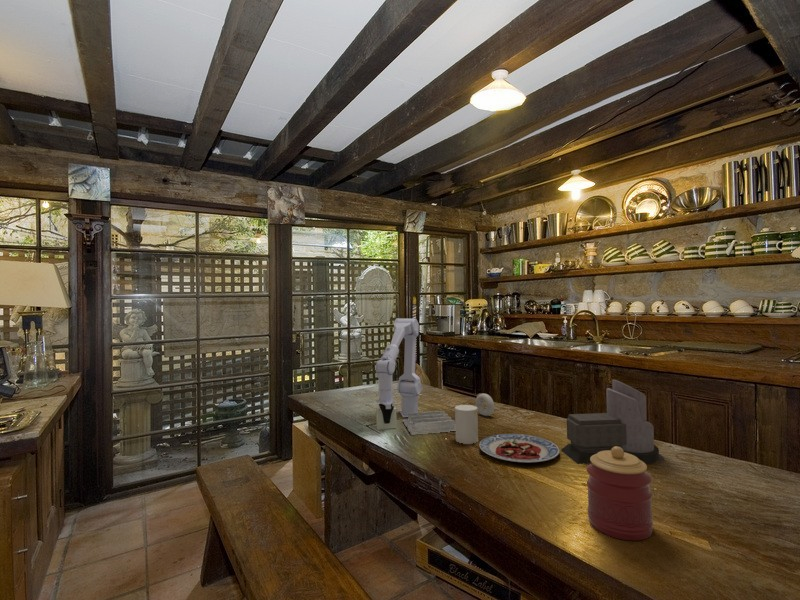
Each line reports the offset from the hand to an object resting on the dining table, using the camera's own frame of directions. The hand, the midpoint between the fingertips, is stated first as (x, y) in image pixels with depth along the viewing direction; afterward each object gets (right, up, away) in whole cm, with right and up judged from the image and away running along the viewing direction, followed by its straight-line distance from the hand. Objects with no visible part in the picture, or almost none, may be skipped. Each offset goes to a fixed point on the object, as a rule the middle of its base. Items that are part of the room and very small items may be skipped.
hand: (386, 422), depth 165 cm
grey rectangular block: (0, -2, 0) cm, 2 cm away
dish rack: (+18, -2, +1) cm, 18 cm away
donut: (+43, -2, +14) cm, 46 cm away
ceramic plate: (+45, -2, -29) cm, 54 cm away
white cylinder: (+30, -2, -16) cm, 34 cm away
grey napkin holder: (+75, -1, -33) cm, 82 cm away
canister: (+55, -1, -74) cm, 92 cm away
